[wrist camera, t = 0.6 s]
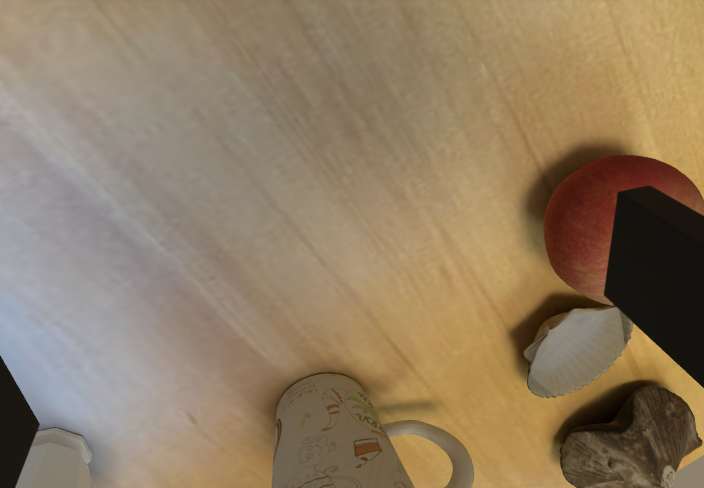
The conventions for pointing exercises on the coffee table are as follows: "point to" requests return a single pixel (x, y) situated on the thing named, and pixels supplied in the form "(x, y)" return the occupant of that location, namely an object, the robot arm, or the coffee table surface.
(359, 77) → the coffee table surface
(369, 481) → the mug
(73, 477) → the cup
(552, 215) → the apple
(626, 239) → the robot arm
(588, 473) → the fossilized seashell
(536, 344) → the seashell
